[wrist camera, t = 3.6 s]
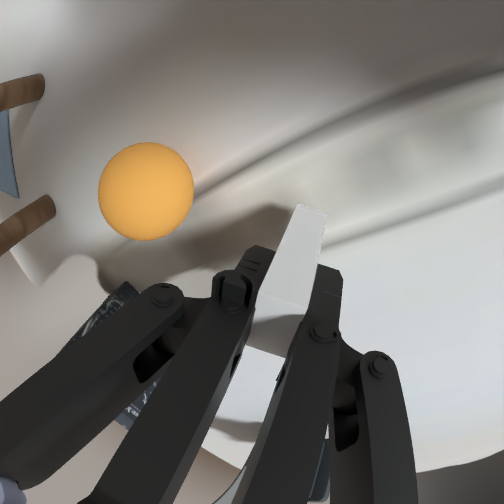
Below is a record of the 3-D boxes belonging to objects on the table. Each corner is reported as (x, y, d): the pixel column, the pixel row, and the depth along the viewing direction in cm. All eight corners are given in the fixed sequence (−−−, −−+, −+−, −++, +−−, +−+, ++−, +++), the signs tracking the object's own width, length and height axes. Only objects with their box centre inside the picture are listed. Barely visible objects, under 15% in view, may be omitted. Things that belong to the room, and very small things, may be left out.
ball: (138, 128, 16) (73, 153, 11) (215, 141, 15) (157, 169, 10) (139, 203, 19) (86, 242, 14) (206, 223, 18) (160, 274, 14)
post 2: (41, 192, 22) (-24, 236, 15) (53, 197, 22) (-15, 244, 15) (45, 213, 24) (-15, 258, 17) (57, 219, 24) (-6, 268, 16)
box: (203, 352, 27) (155, 438, 18) (171, 361, 30) (128, 430, 22) (127, 277, 24) (55, 356, 16) (105, 298, 28) (48, 363, 20)
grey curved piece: (270, 385, 26) (181, 588, 7) (343, 441, 31) (297, 587, 12) (206, 393, 32) (126, 544, 13) (283, 445, 37) (234, 567, 18)
